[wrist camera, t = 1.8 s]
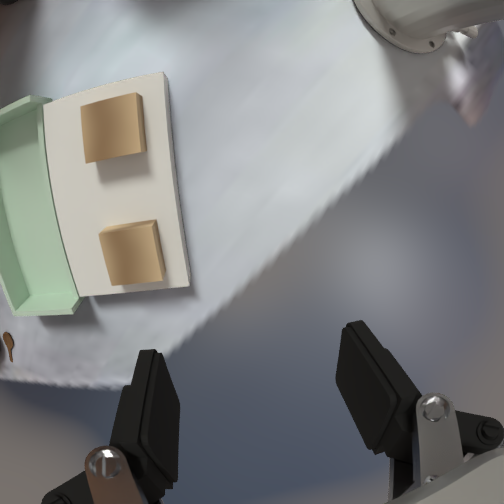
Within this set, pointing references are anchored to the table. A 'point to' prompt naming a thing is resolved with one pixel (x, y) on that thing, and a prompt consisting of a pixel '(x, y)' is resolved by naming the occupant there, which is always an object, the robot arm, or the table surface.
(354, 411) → the robot arm
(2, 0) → the travel mug
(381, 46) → the table surface
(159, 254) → the tile
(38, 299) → the tray
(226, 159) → the table surface
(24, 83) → the table surface
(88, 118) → the tile
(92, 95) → the board
